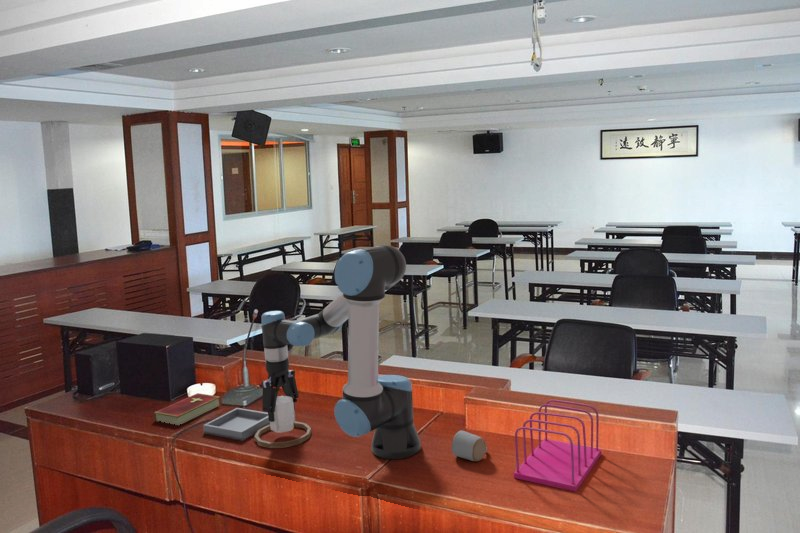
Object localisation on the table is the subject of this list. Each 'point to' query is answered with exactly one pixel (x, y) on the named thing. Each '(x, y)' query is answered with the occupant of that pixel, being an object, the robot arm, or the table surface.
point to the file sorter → (558, 453)
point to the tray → (237, 424)
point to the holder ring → (282, 444)
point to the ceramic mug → (468, 446)
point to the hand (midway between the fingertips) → (283, 425)
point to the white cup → (284, 413)
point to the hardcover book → (187, 409)
